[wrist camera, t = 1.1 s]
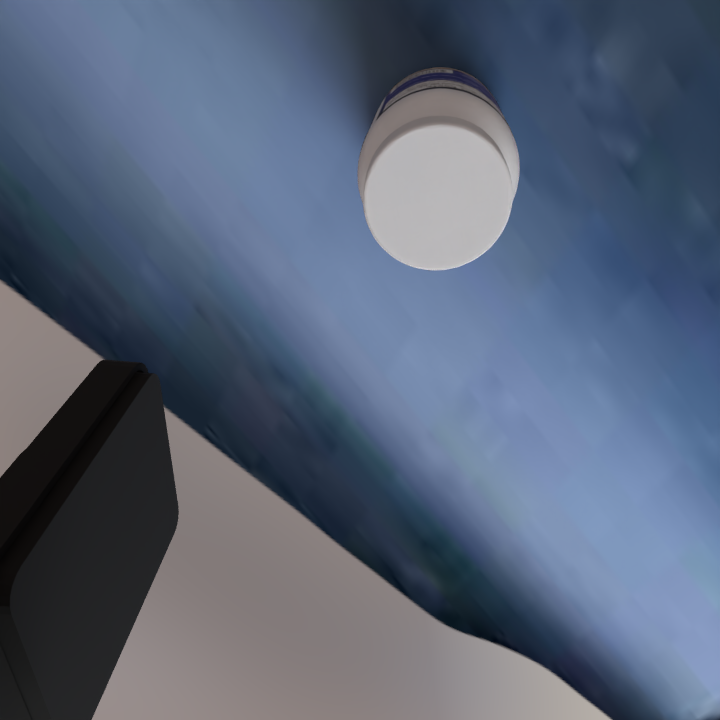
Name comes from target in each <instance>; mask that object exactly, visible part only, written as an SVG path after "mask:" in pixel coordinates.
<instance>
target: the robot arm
mask: <svg viewBox="0 0 720 720" xmlns="http://www.w3.org/2000/svg"><path fill="white" fill-rule="evenodd" d="M178 512H179V511H178V501H177V495H176V488H175V481H174V474H173V468H172V461H171V454H170V448H169V440H168V434H167V427H166V420H165V413H164V407H163V400H162V393H161V386H160V381H159V378H158V376H157V375H156V374H152V373H148V370H147V368H146V366H145V365H144V364H143V363H139V362H127V361H115V360H102V361H100V362H99V363H98V364H97V365H96V367H94V369H93V370H92V371H91V372H90V373H89V375H88V376H87V377H86V378H85V380H84V381H83V382H82V383H81V384H80V385H79V387H78V388H77V389H76V390H75V391H74V393H73V394H72V395H71V396H70V397H69V398H68V400H67V401H66V402H65V403H64V404H63V406H62V407H61V408H60V409H59V410H58V412H57V413H56V414H55V415H54V416H53V418H52V419H51V420H50V421H49V422H48V424H47V425H46V426H45V427H44V428H43V430H42V431H41V432H40V433H39V434H38V436H37V437H36V438H35V439H34V440H33V442H32V443H31V444H30V445H29V446H28V447H27V449H25V450H24V451H23V452H22V453H21V454H20V455H19V456H18V457H17V459H16V460H15V461H14V462H13V463H12V464H11V466H10V467H9V468H8V469H7V470H6V472H5V473H4V474H3V475H2V476H1V478H0V720H91V719H92V717H93V715H94V712H95V710H96V708H97V706H98V704H99V702H100V699H101V697H102V695H103V693H104V690H105V688H106V686H107V684H108V681H109V679H110V677H111V674H112V672H113V670H114V668H115V666H116V663H117V661H118V659H119V657H120V654H121V652H122V650H123V647H124V645H125V643H126V640H127V638H128V636H129V634H130V632H131V630H132V627H133V625H134V623H135V621H136V618H137V616H138V614H139V612H140V609H141V607H142V605H143V603H144V600H145V598H146V596H147V593H148V591H149V589H150V587H151V585H152V582H153V580H154V578H155V575H156V573H157V571H158V569H159V567H160V564H161V562H162V560H163V557H164V555H165V553H166V551H167V549H168V546H169V544H170V542H171V540H172V537H173V535H174V533H175V530H176V526H177V522H178Z"/></svg>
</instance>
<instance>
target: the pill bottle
mask: <svg viewBox="0 0 720 720" xmlns="http://www.w3.org/2000/svg"><path fill="white" fill-rule="evenodd" d="M519 168H520V165H519V155H518V150H517V145H516V142H515V139H514V137H513V134H512V132H511V129H510V127H509V125H508V123H507V122H506V120H505V118H504V116H503V114H502V112H501V110H500V108H499V106H498V104H497V102H496V100H495V98H494V97H493V95H492V94H491V92H490V91H489V90H488V89H487V88H486V87H485V86H484V85H483V84H482V83H481V82H480V81H479V80H477V79H476V78H475V77H473V76H471V75H469V74H467V73H465V72H463V71H460V70H456V69H452V68H444V67H435V68H429V69H424V70H421V71H418V72H415V73H413V74H411V75H409V76H408V77H406V78H404V79H403V80H401V81H400V82H399V83H398V84H397V85H395V86H394V87H393V88H392V89H391V91H390V92H389V93H388V94H387V96H386V97H385V98H384V100H383V101H382V103H381V105H380V107H379V109H378V110H377V113H376V115H375V117H374V119H373V122H372V125H371V127H370V129H369V131H368V133H367V135H366V137H365V140H364V142H363V145H362V149H361V152H360V157H359V162H358V186H359V192H360V196H361V199H362V202H363V207H364V213H365V218H366V221H367V224H368V226H369V229H370V231H371V233H372V234H373V236H374V238H375V239H376V241H377V242H378V243H379V245H380V246H381V247H382V248H383V249H384V250H385V251H386V252H387V253H388V254H390V255H391V256H392V257H394V258H395V259H397V260H398V261H400V262H402V263H404V264H406V265H409V266H412V267H415V268H419V269H424V270H446V269H451V268H456V267H459V266H462V265H464V264H466V263H469V262H471V261H473V260H474V259H476V258H478V257H479V256H480V255H482V254H483V253H484V252H486V251H487V250H488V249H489V248H490V247H491V246H492V245H493V244H494V243H495V241H496V240H497V239H498V237H499V236H500V235H501V233H502V231H503V230H504V228H505V226H506V224H507V221H508V218H509V216H510V212H511V207H512V202H513V199H514V196H515V193H516V190H517V186H518V181H519Z"/></svg>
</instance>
